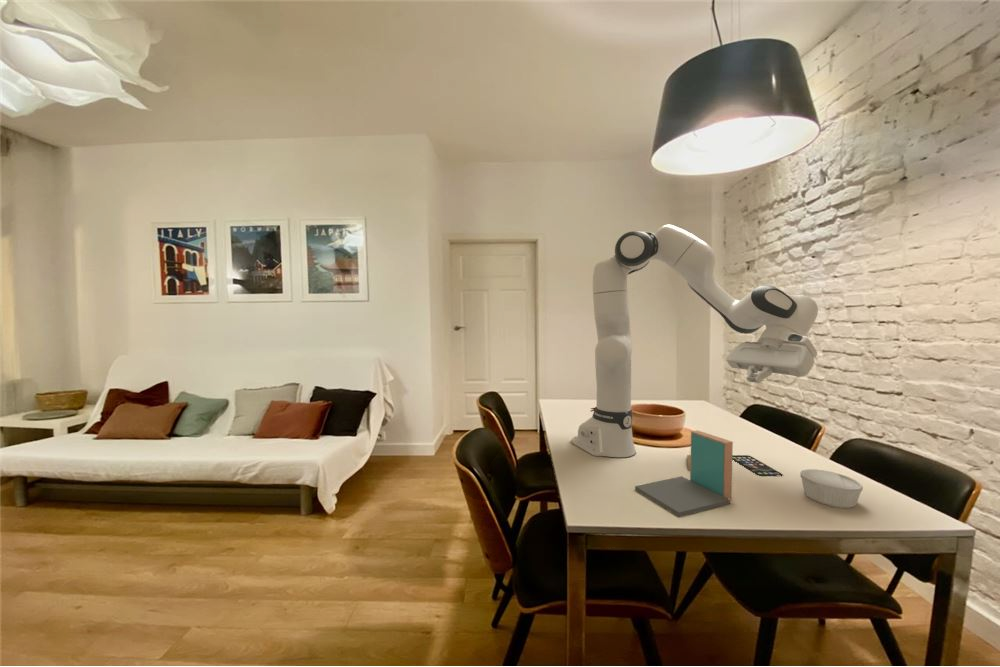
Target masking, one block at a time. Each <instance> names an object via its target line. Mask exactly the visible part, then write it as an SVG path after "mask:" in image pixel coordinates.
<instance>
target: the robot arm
mask: <svg viewBox="0 0 1000 667" xmlns="http://www.w3.org/2000/svg"><path fill="white" fill-rule="evenodd" d="M652 260H658V261H661V262H663V263H665V264H667V266H669V267H670V268H672V270H674V271H676V272H677V273H678V274H679V275H681V276H682V278H683V279H684V280H685V281H686V282H687V285H688V287H689V288H690V289H691V290H692V291H693V292H694V293H695V294H696V295H697V296H699V297H700V298H701V299H702V300H703V301H705V303H707V305H708V306H710V307H711V308H712V309H714V310H715V311H716V312H717V314H719V315H720V316H721V317H722V318H723V320H724V321H725V323H726V324H727V325H728V326H729V327H730V328H731V329H732V330H733V331H735V332H736V333H739V334H745V335H748V334H752V333H753V334H754V333H755V332H757V331H758V330H759V329H761V328H762V327H764V326H765V329H764V331H763V332H762V334H761V335H760V336H759V338H758V339H757V341H745V342H743V343H742V342H741V343H739V344H738V345H737V346H735V347H734V348H733V349H732V350H731V351H730V352H729V354H728V355H727V357H726V358H725V359H726V362H727V364H728V365H729V366H730V367H731V369H738V370H746V371H748V375H746V378H745V379H746V381H748V383H754V384H761V382H762V381H763V380H764V379H766V378H769V377H770V376H772V374H777V375H784V376H785V375H786V376H793V377H800V378H801V377H805V376H807V375H808V374H809V373H810V372H811V370H812V368H813V366H814V364H815V358H816V357H817V356H818V352H817V349H816V347H815V345H814V344H813V343H812V341H811V340H810V339H809V338H808V337H807V336H806V335H808V333H809V332H810V331H811V328H812V327H813V325H814V323H815V321H816V319H817V317H818V313H819V308H818V304H817V303H816V301H815V300H814V299H812V298H811V297H809V296H807V295H805V294H791V293H786V292H784V291H783V290H781V289H780V288H778V287H777V286H773V285H766V284H765V285H759V286H757V287H755V288H754V289H753V290H751V291H750V292H748V293H747V294H745V296H744V297H743V298H741V299H740V300H739V299H736V298H734V297H733V296H732V295H730V294H729V293H728V292H727V291H726V290H725V289H724V288H722V286H721V285H719V284H718V283H717V282H716V281H715V278H714V270H715V269H714V268H715V265H716V254H715V251H714V249H713V248H712V247H711V246H710V245H709V244H708V243H707V242H705V241H704V240H702V239H700V238H699V237H698V236H696V235H694V234H693V233H691V232H688V231H687V230H685V229H683V228H680V227H678V226H675V225H673V224H664V225H662V226H661V227H659V228H658V229H656V231H655V232H651V231H638V230H637V231H635V230H634V231H628V232H625V233H623V234H622V235H621V236H620V237H619V238H618V239H617V241H616V243H615V246H614V255H613V256H612V257H611V258H607V259H606V258H605V259H602V260H601V261H599V262H598V263H596V265H595V266H594V268H593V275H592V297H593V298H592V299H593V300H592V301H593V312H594V314H593V315H594V320H595V327H596V335H597V343H596V346H595V348H594V355H595V356H594V361H595V378H596V380H595V381H596V406H595V407H591V408H590V412H593V413H592V417H590V418H587V420H586V421H584V422H582V423H581V424H580V425H579V426H578V430H577V435H576V436H573V437H572V438H571V439H570V443H572V444H574V445H575V446H577V447H578V448H580V449H582V450H583V451H585V452H587V453H588V454H590V455H592V456H595V457H607V458H609V457H610V458H628V457H633V456H634V455H635V454H636V451H637V450H636V448H635V444H634V438H633V429H632V424H633V409H632V352H633V347H632V346H633V345H632V335H631V334H632V333H631V321H630V309H629V308H630V307H629V294H628V293H629V292H628V275H630V274H633V273H635V272H639V271H640V270H643V269H644V268H645V267H646V266H648V264H649V263H650V261H652ZM758 372H759V373H758Z"/></svg>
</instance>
